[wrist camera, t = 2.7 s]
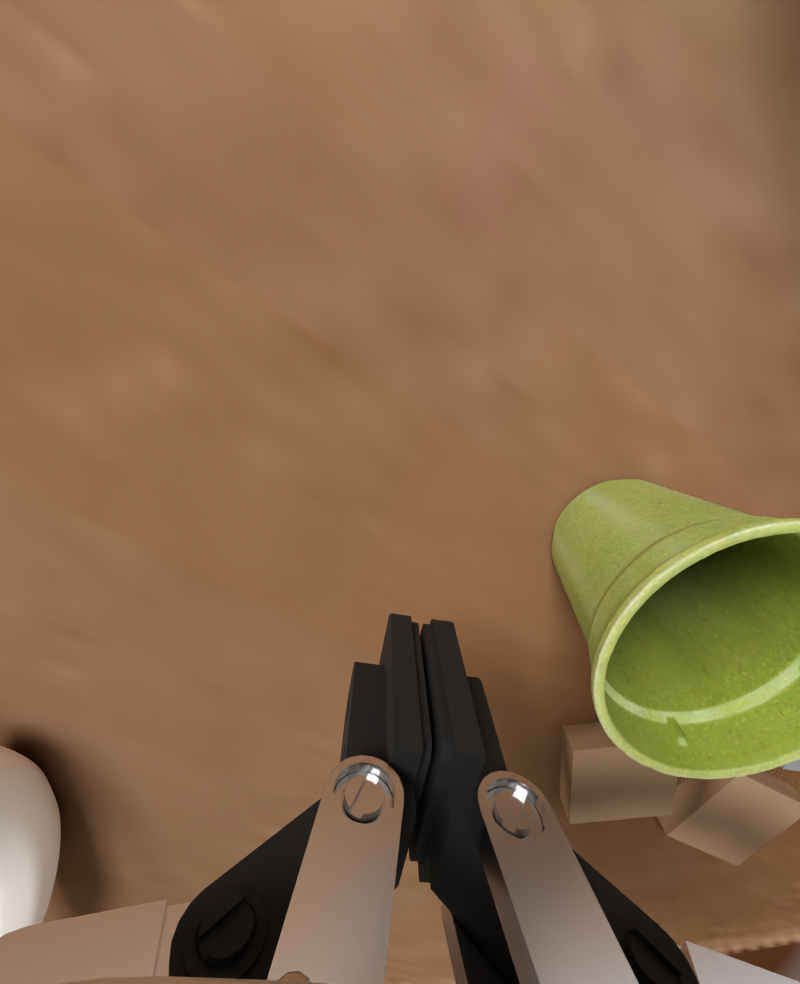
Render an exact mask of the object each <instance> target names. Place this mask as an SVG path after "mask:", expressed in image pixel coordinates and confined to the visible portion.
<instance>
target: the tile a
mask: <svg viewBox="0 0 800 984" xmlns="http://www.w3.org/2000/svg"><path fill="white" fill-rule="evenodd" d="M677 780H678V777H677V776H672V775H668V774H664V773H661V772H659V771H656V770H654V769H652V768H650V767H647V766H644V765H641V764H640V763H638V762H637V761H635V760H633V759H632V758H630V757H629V756H628V755H626V754H625V753H624V752H623V751H622V750H621V749H619V748H618V747H617V746H616V745H615V744H614V743H613V742H612V740H611V739H610V738H609V737H608V735H607V733H606V732H605V731H604V729H603V727H602V725H601V723H600V722H593V723H582V724H571V725H562V742H561V769H560V800H561V803H562V805H563V808H564V811H565V814H566V816H567V819H568V822H569V824H578V823H589V822H600V821H610V820H621V819H632V818H643V817H654V816H664V815H671V814H672V809H673V803H674V797H675V791H676V786H677Z"/></svg>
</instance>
